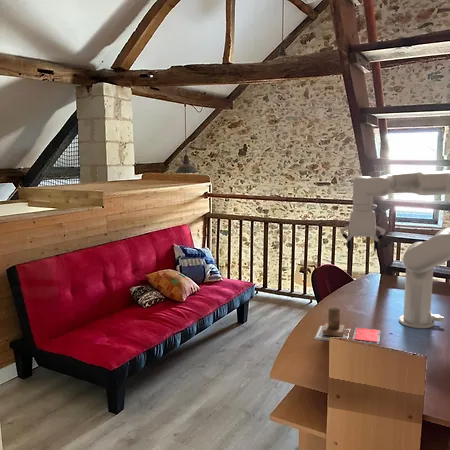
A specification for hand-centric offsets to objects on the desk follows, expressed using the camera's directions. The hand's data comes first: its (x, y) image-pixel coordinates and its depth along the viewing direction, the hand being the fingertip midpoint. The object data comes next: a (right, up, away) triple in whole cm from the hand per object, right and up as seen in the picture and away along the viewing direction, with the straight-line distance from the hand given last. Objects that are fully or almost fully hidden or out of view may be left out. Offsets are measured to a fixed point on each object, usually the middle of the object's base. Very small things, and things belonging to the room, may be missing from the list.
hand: (362, 250), depth 183 cm
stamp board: (-15, -30, -15) cm, 37 cm away
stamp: (-15, -30, -15) cm, 37 cm away
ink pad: (-4, -30, -19) cm, 36 cm away
